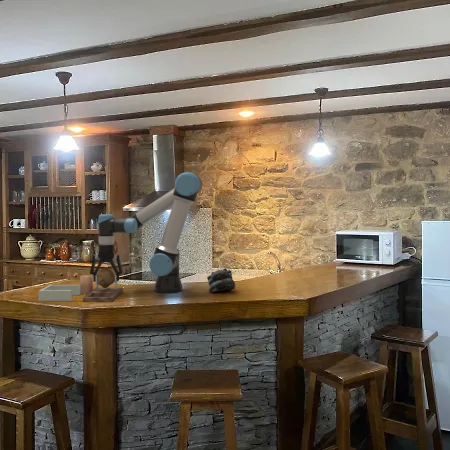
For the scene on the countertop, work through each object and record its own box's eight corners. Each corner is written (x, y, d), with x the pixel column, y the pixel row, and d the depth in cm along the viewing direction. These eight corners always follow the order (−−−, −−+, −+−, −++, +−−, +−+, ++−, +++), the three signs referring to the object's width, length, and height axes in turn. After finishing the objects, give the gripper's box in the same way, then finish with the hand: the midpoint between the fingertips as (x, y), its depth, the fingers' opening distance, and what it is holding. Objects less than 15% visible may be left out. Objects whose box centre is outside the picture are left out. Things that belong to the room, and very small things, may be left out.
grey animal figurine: (205, 293, 249) (201, 268, 255) (213, 298, 260) (209, 274, 266) (232, 286, 246) (228, 261, 252) (239, 291, 257) (234, 267, 263)
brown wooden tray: (122, 291, 254) (122, 287, 254) (112, 301, 228) (112, 297, 228) (96, 291, 254) (96, 287, 254) (82, 301, 228) (82, 297, 228)
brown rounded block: (94, 291, 253) (94, 275, 253) (91, 294, 247) (91, 276, 246) (82, 291, 253) (82, 275, 253) (78, 294, 247) (78, 276, 246)
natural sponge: (117, 286, 251) (117, 267, 250) (112, 289, 242) (112, 270, 242) (101, 286, 252) (100, 267, 251) (94, 289, 243) (94, 269, 242)
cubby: (80, 294, 246) (80, 284, 246) (71, 301, 230) (71, 290, 230) (50, 294, 246) (50, 284, 245) (38, 301, 230) (38, 290, 229)
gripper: (128, 243, 250) (129, 286, 251) (86, 243, 249) (87, 286, 250) (126, 244, 242) (126, 288, 243) (82, 244, 242) (83, 288, 243)
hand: (106, 287), depth 247 cm, fingers open, 9 cm apart
